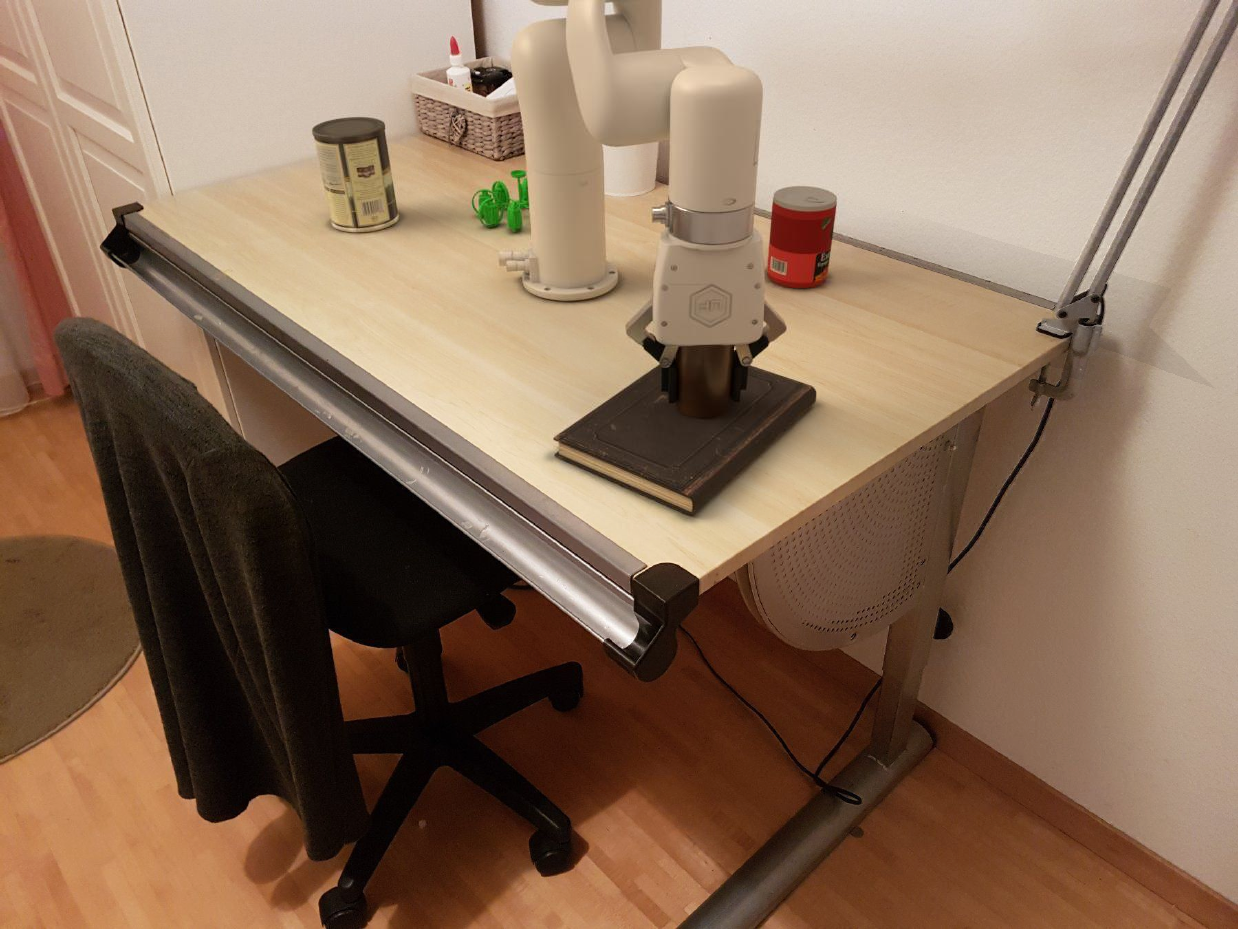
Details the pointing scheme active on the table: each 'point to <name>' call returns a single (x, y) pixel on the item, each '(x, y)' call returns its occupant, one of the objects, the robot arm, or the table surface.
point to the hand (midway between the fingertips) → (702, 394)
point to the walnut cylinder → (704, 380)
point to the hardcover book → (681, 437)
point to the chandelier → (503, 203)
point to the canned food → (801, 236)
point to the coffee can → (356, 173)
